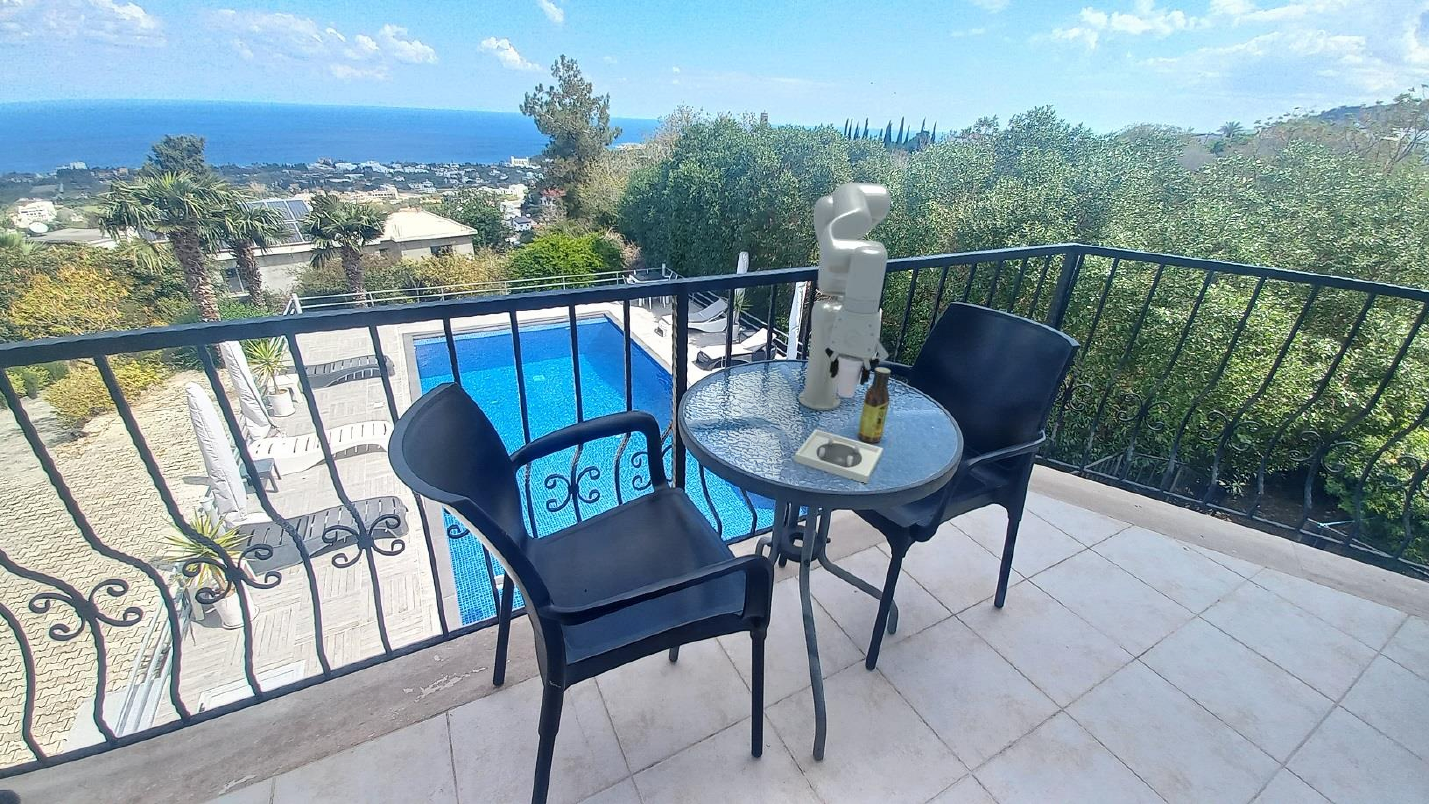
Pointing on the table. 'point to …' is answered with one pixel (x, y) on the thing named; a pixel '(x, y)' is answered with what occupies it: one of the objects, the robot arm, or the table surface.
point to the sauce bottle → (875, 407)
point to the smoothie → (848, 374)
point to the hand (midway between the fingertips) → (848, 378)
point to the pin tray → (839, 455)
